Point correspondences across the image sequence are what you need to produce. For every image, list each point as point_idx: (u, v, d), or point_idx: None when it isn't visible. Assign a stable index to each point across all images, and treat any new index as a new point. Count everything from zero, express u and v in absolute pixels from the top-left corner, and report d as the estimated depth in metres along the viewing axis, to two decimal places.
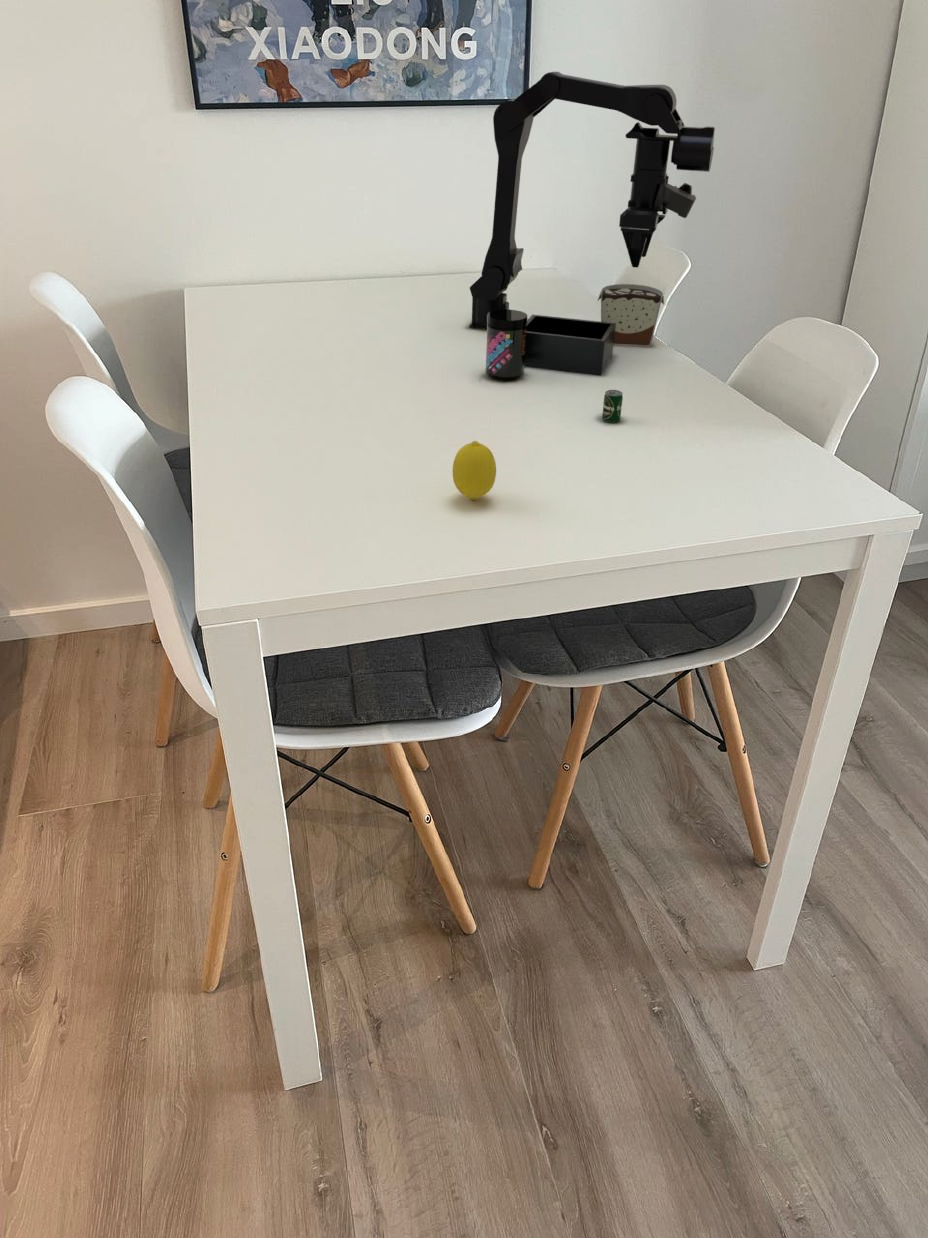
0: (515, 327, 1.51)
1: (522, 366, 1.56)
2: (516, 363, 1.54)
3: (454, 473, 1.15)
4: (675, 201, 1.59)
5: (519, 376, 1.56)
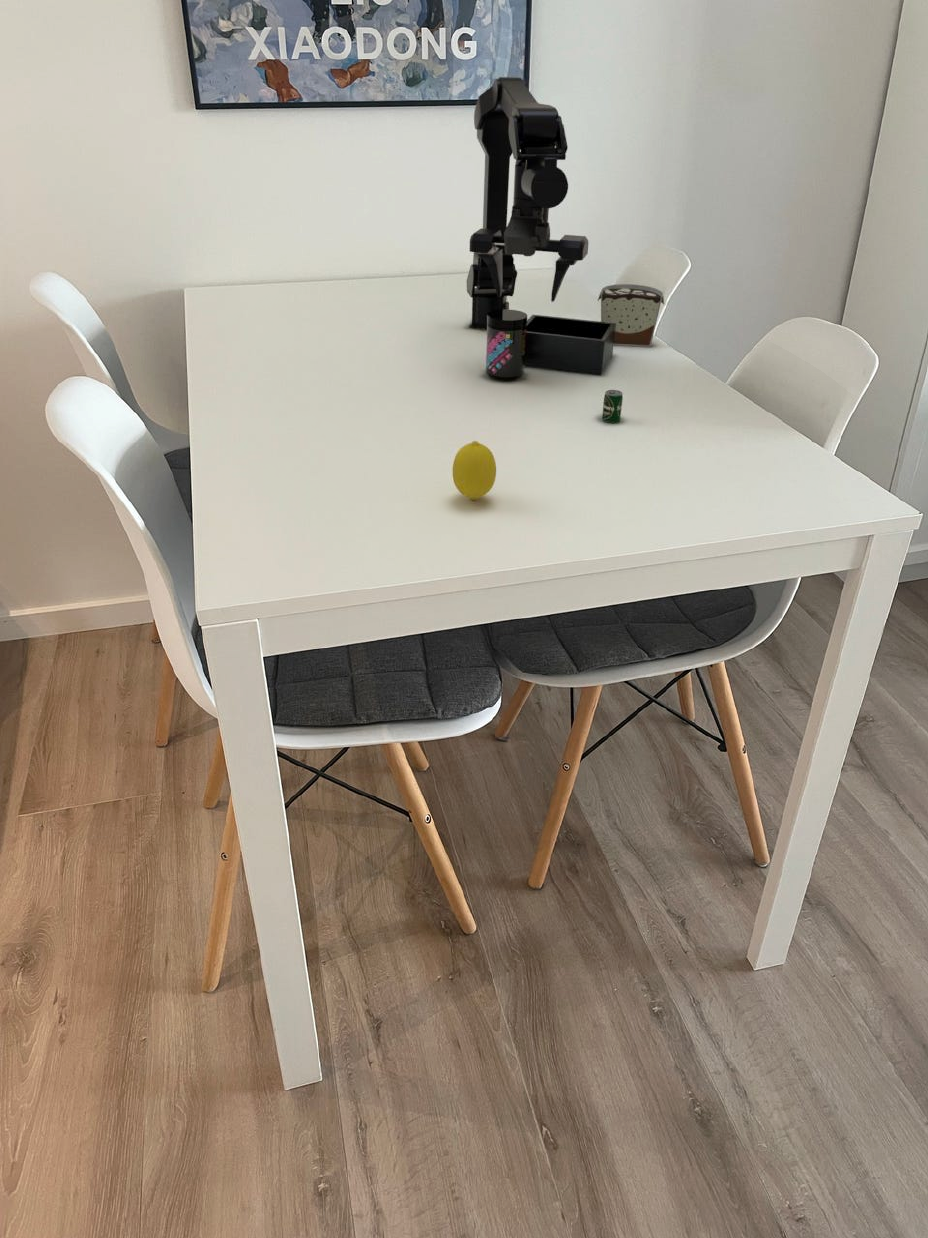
0: (515, 327, 1.51)
1: (522, 366, 1.56)
2: (516, 363, 1.54)
3: (454, 473, 1.15)
4: None
5: (519, 376, 1.56)
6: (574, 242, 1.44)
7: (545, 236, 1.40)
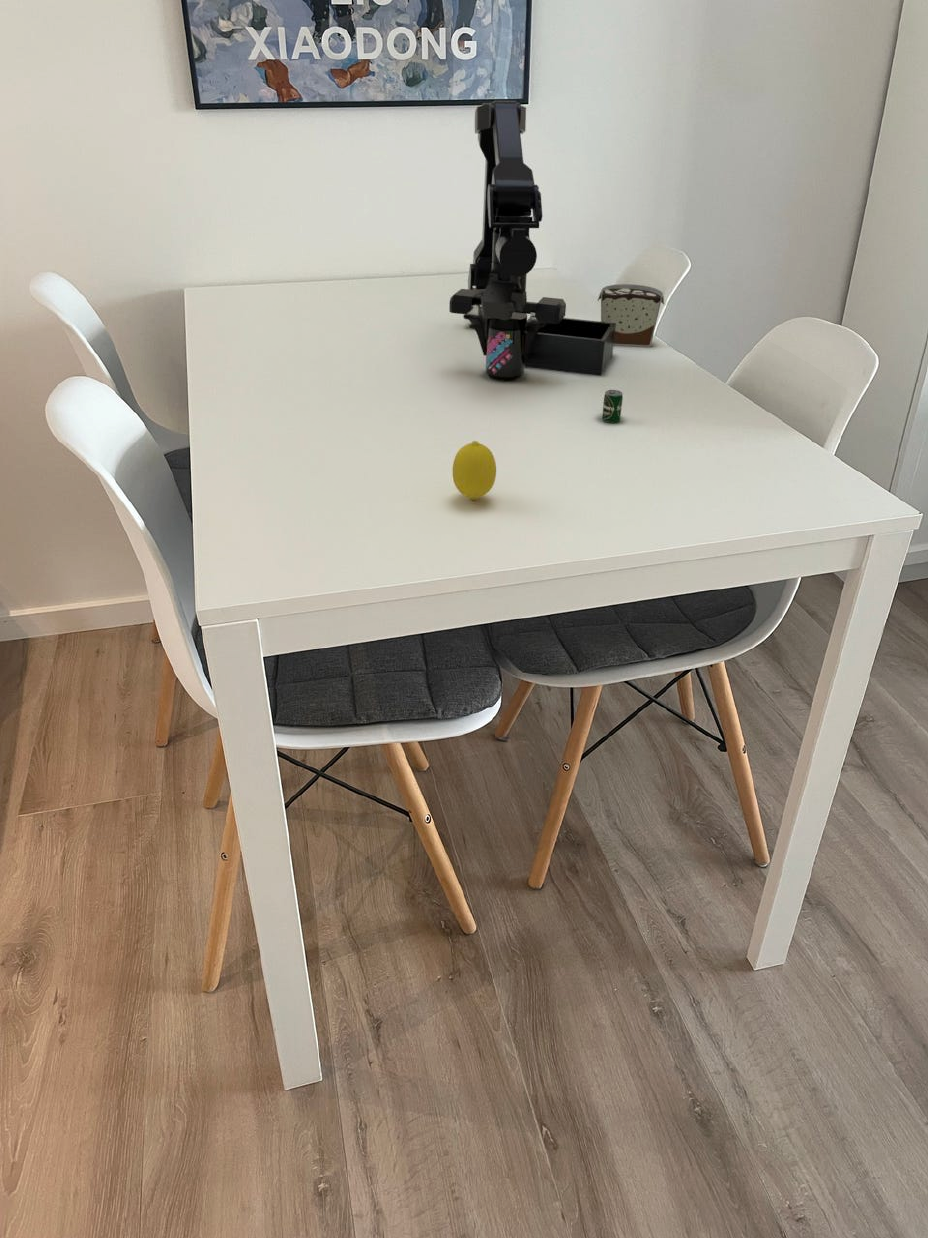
0: (515, 327, 1.51)
1: (522, 366, 1.56)
2: (516, 363, 1.54)
3: (454, 473, 1.15)
4: None
5: (519, 376, 1.56)
6: (550, 306, 1.47)
7: (521, 302, 1.43)
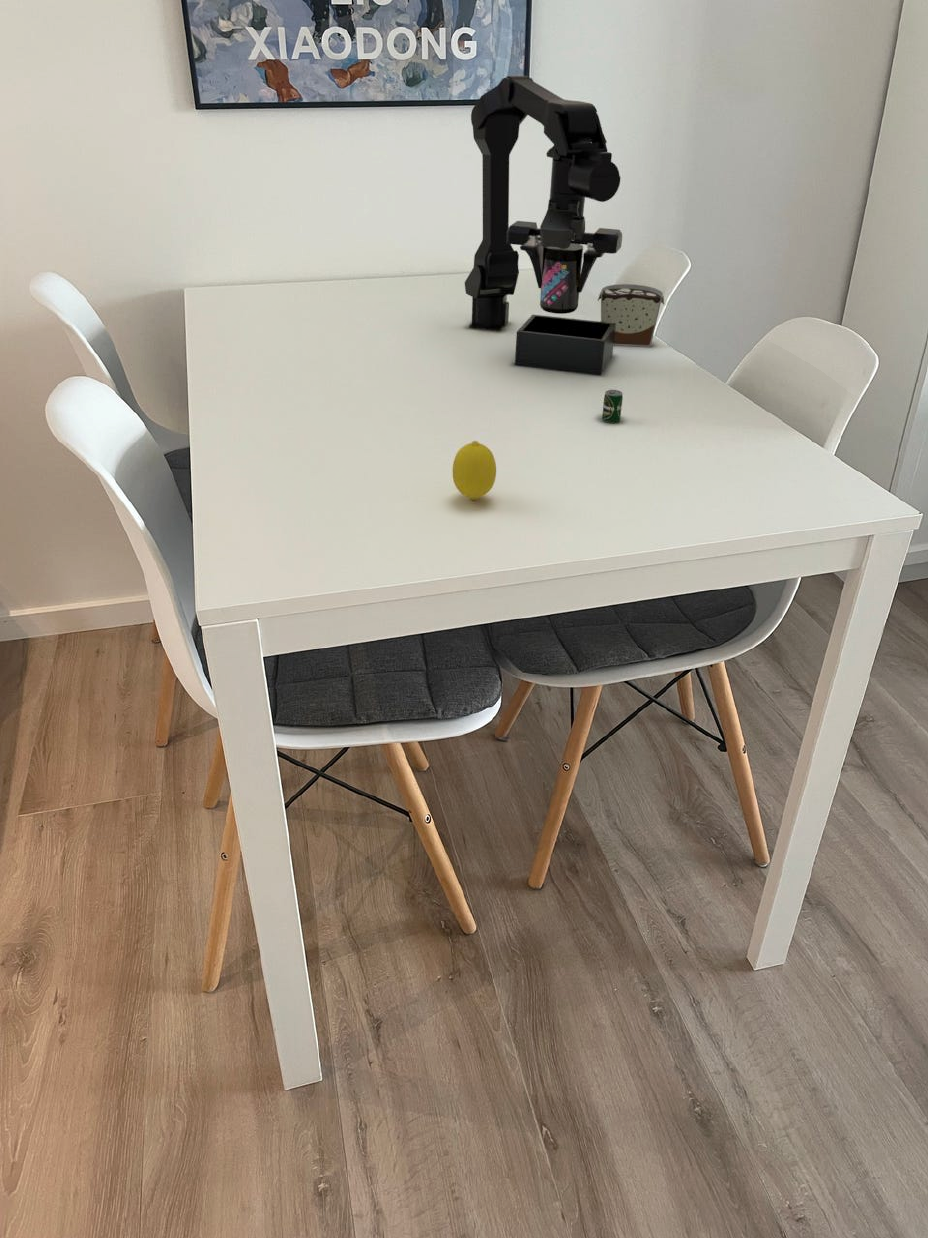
0: (571, 258, 1.52)
1: (577, 298, 1.57)
2: (572, 295, 1.55)
3: (454, 473, 1.15)
4: None
5: (574, 308, 1.57)
6: (608, 235, 1.48)
7: (580, 229, 1.44)
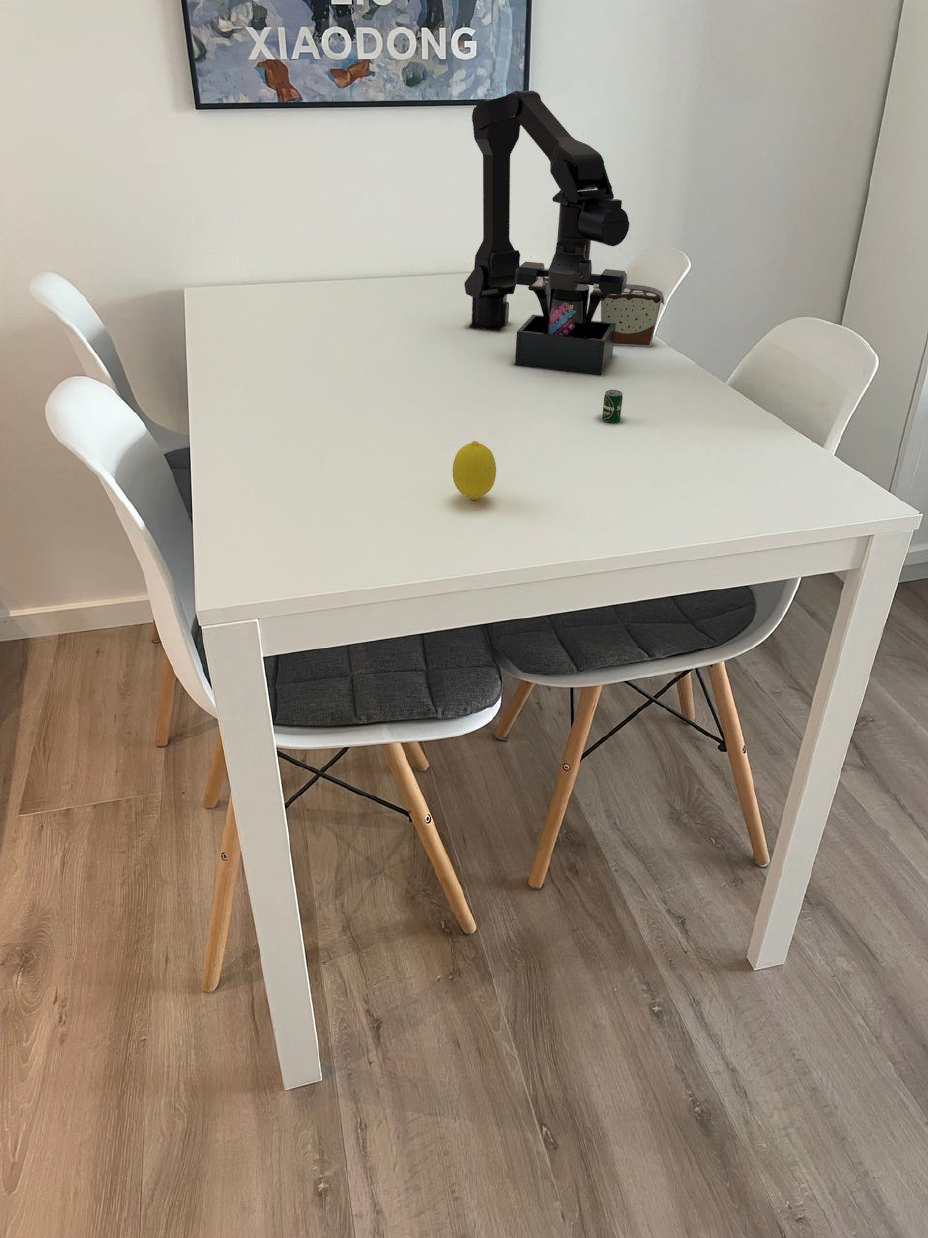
0: (578, 298, 1.57)
1: (583, 336, 1.62)
2: (578, 333, 1.61)
3: (454, 473, 1.15)
4: None
5: None
6: (614, 277, 1.53)
7: (587, 272, 1.49)
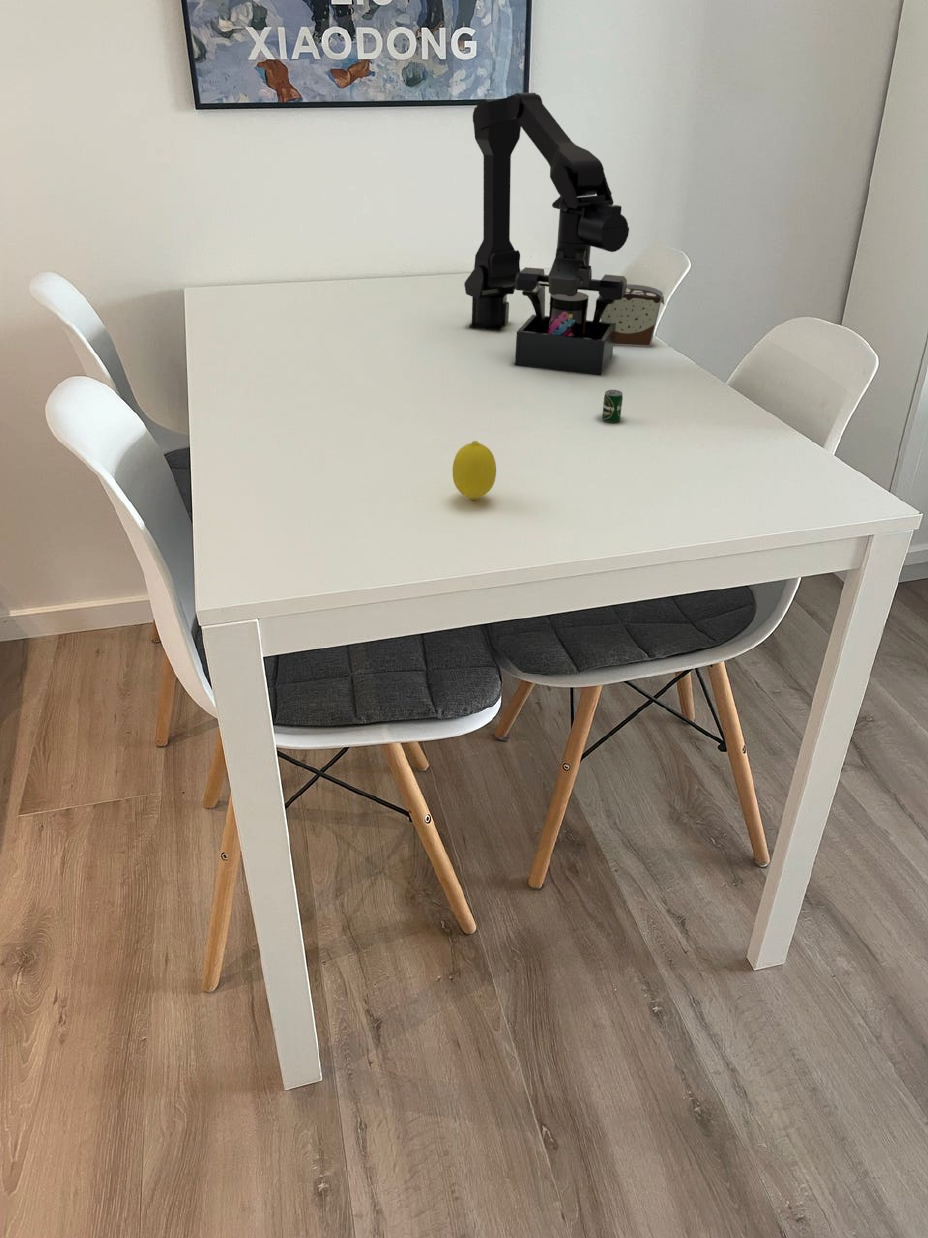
0: (577, 307, 1.58)
1: None
2: None
3: (454, 473, 1.15)
4: None
5: None
6: (614, 283, 1.54)
7: (587, 278, 1.50)
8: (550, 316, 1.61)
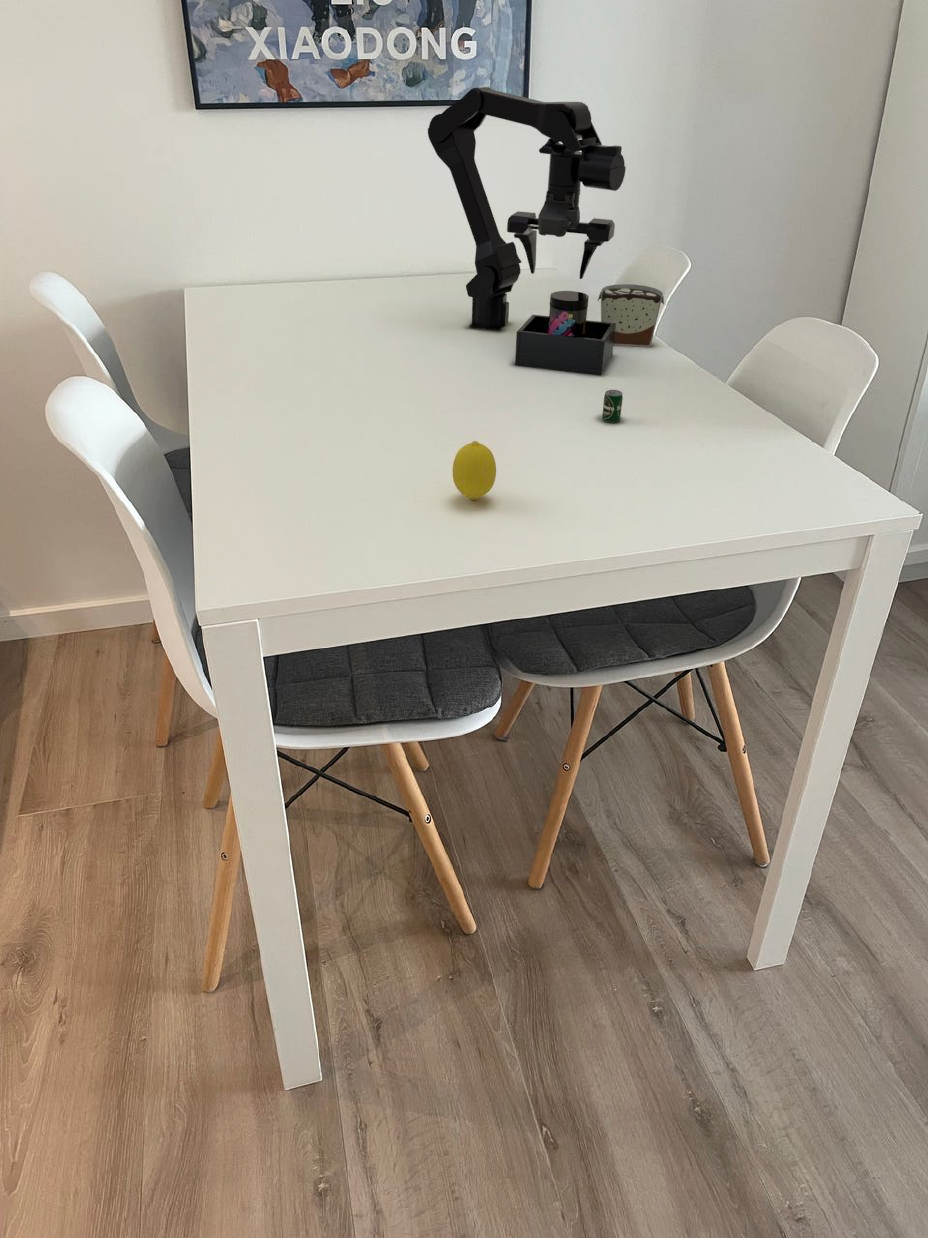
0: (577, 307, 1.58)
1: None
2: None
3: (454, 473, 1.15)
4: None
5: None
6: (601, 225, 1.60)
7: (575, 219, 1.56)
8: (550, 316, 1.61)
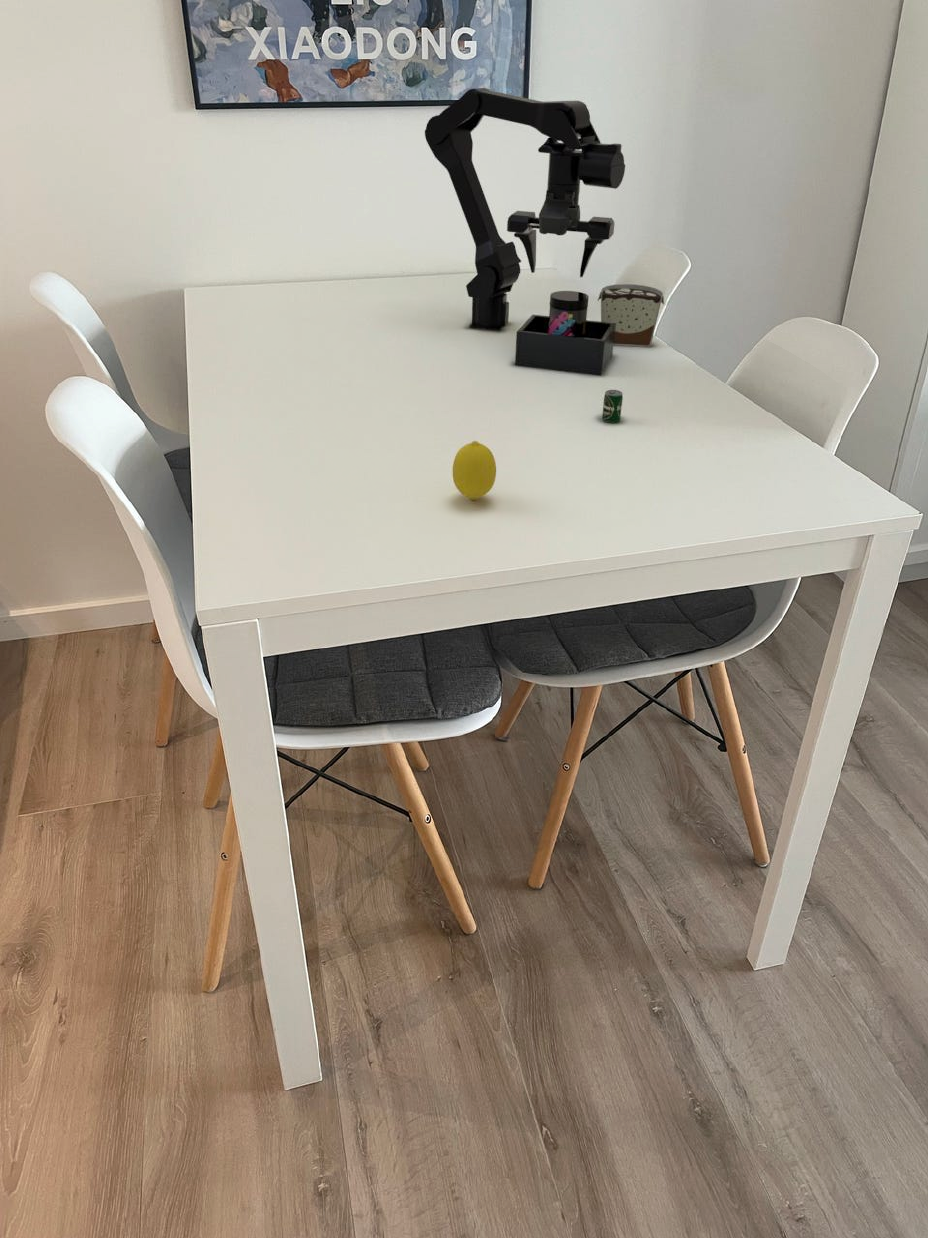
0: (577, 307, 1.58)
1: None
2: None
3: (454, 473, 1.15)
4: None
5: None
6: (601, 223, 1.61)
7: (576, 217, 1.57)
8: (550, 316, 1.61)
